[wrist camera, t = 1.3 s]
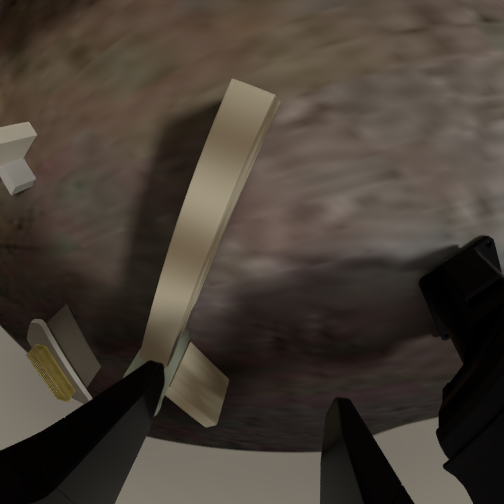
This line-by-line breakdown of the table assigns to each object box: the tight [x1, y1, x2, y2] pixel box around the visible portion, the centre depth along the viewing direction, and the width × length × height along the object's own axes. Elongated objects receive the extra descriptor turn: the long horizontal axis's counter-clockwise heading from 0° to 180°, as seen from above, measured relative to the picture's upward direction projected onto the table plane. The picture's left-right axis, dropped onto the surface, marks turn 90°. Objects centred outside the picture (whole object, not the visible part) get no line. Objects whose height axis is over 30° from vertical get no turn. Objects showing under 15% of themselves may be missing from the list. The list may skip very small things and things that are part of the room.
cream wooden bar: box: [139, 79, 281, 370], centre depth 17 cm, size 17×2×5 cm, turn 157°
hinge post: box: [123, 327, 191, 416], centre depth 20 cm, size 3×3×9 cm
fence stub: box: [165, 342, 229, 427], centre depth 23 cm, size 5×1×5 cm, turn 37°
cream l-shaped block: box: [0, 122, 37, 195], centre depth 16 cm, size 4×4×6 cm
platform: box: [27, 304, 101, 404], centre depth 24 cm, size 12×18×7 cm, turn 11°
